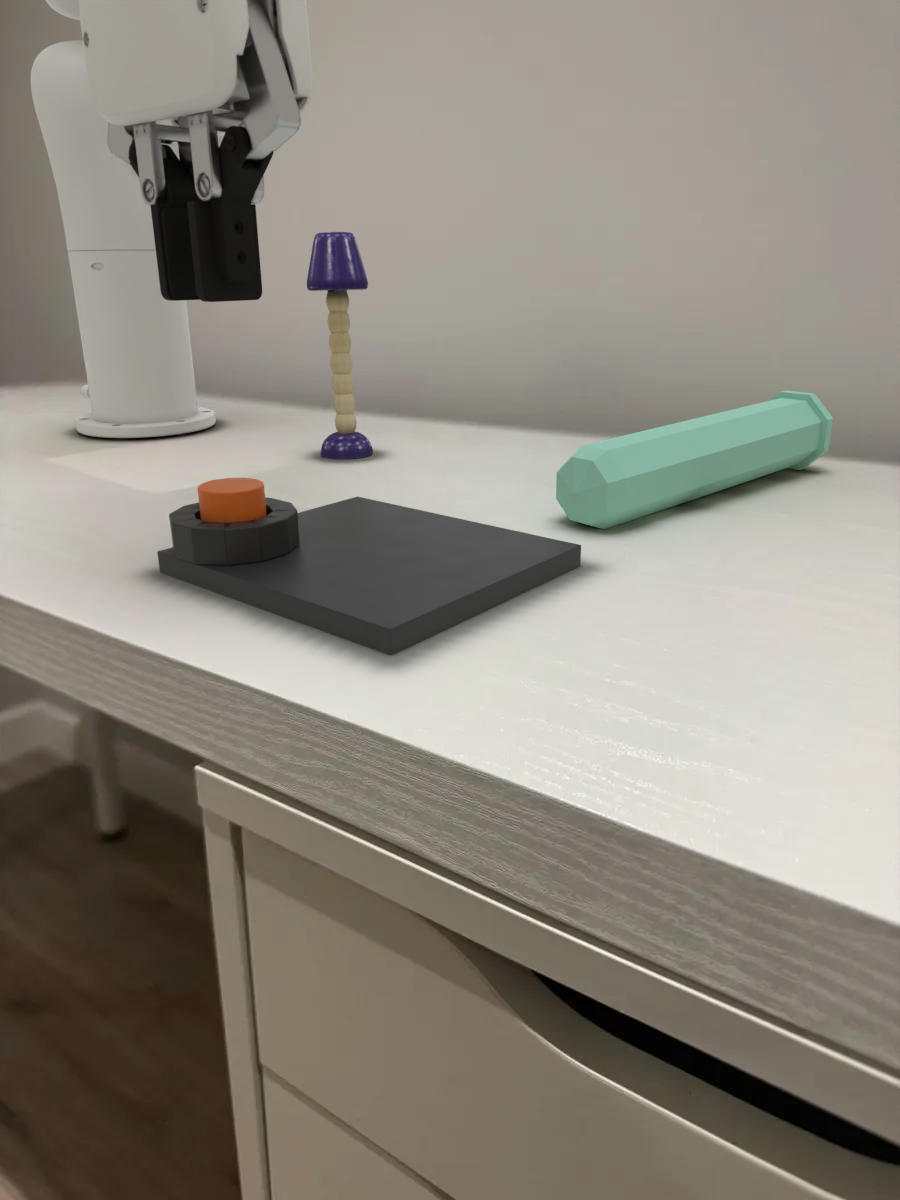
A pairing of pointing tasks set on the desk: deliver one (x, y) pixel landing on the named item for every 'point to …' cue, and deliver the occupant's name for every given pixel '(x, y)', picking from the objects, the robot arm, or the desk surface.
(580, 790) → the desk surface
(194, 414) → the robot arm
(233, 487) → the button
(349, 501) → the scale
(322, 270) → the toy lamp
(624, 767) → the desk surface
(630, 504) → the container
